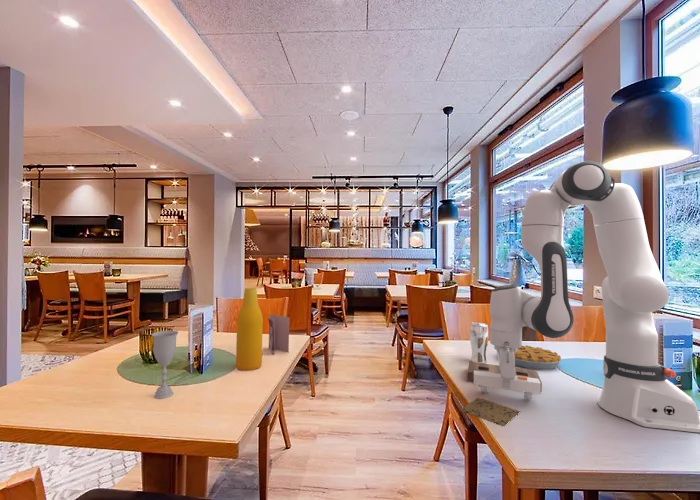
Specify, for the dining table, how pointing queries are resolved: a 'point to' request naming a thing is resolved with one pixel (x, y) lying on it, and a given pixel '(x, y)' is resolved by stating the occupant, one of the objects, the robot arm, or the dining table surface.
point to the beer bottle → (249, 333)
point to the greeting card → (278, 333)
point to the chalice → (164, 358)
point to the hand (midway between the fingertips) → (505, 384)
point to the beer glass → (479, 342)
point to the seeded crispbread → (490, 411)
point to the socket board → (498, 371)
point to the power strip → (517, 384)
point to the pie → (536, 358)
